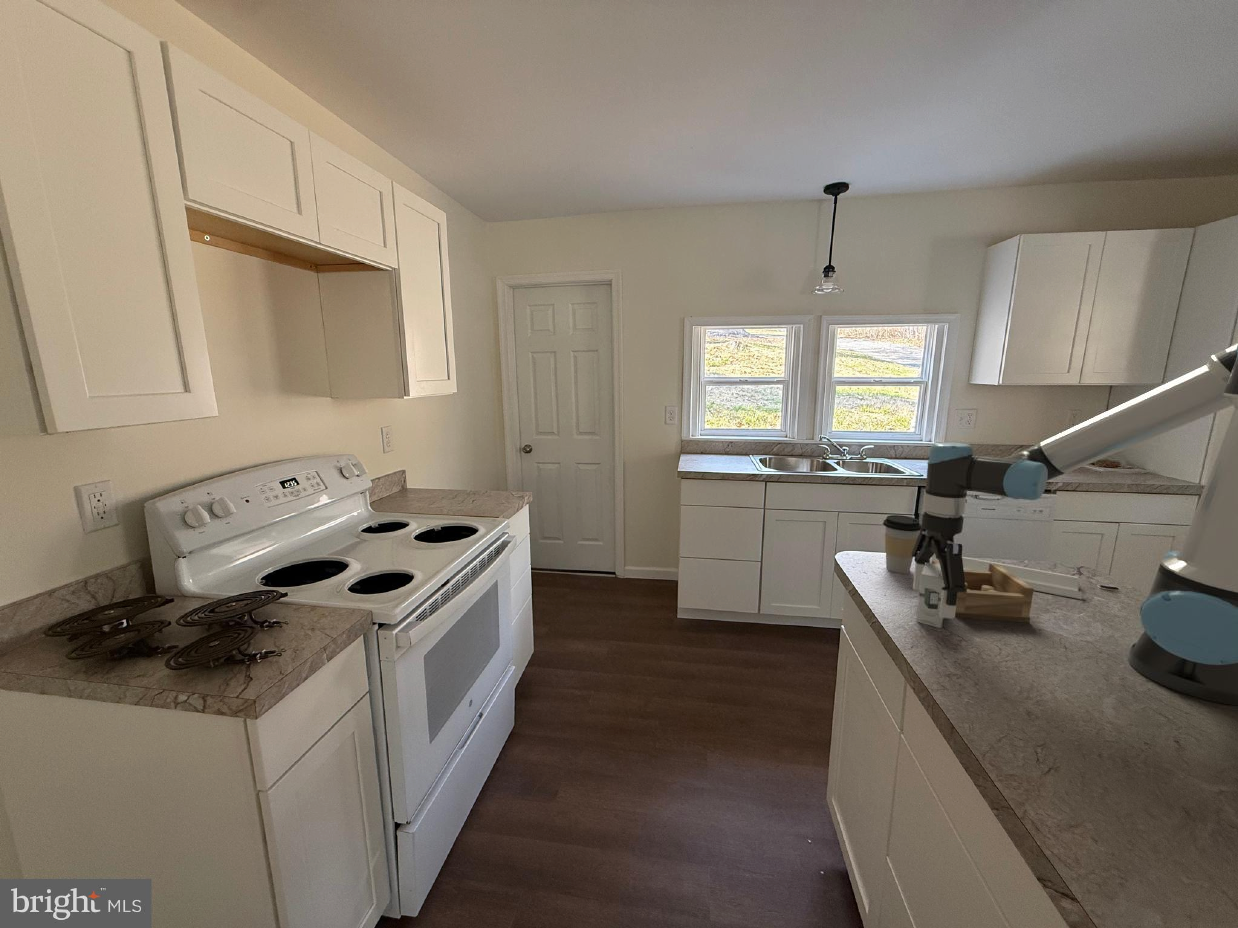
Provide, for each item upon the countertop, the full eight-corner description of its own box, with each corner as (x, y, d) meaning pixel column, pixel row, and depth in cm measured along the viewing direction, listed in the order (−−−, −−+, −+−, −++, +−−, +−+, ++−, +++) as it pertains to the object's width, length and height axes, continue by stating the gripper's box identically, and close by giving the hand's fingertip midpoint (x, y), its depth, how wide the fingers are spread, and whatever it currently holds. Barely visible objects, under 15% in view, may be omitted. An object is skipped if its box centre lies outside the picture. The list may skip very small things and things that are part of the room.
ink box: (920, 607, 112) (925, 560, 110) (945, 613, 109) (951, 565, 107) (915, 621, 106) (920, 572, 104) (941, 628, 103) (947, 578, 101)
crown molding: (929, 572, 133) (930, 560, 132) (932, 559, 143) (933, 548, 142) (1081, 602, 115) (1083, 588, 114) (1072, 584, 124) (1075, 572, 124)
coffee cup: (922, 577, 129) (928, 525, 126) (885, 574, 130) (890, 523, 128) (909, 563, 138) (914, 514, 135) (874, 561, 140) (878, 513, 137)
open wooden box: (1029, 622, 105) (1035, 588, 103) (954, 617, 108) (959, 583, 106) (992, 594, 118) (997, 563, 117) (927, 589, 121) (931, 560, 120)
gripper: (995, 532, 90) (981, 632, 94) (935, 499, 114) (926, 580, 118) (952, 530, 92) (939, 629, 96) (902, 497, 116) (893, 578, 120)
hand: (932, 602), depth 107 cm, fingers open, 13 cm apart
